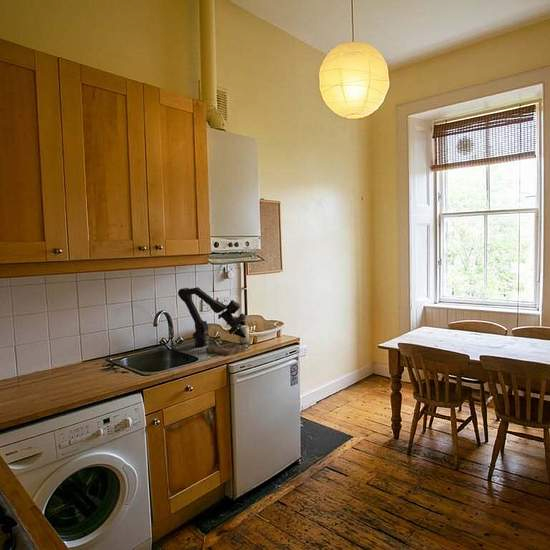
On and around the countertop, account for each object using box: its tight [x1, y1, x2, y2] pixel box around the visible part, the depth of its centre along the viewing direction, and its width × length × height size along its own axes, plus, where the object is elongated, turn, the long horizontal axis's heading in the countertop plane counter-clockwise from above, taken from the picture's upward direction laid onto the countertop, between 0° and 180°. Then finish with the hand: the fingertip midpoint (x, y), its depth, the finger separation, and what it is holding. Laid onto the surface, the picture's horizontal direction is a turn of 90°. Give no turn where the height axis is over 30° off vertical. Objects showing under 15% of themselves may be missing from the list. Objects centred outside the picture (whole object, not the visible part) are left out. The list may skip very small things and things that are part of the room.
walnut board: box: [214, 342, 246, 356], centre depth 239 cm, size 13×13×3 cm
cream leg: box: [240, 325, 250, 349], centre depth 248 cm, size 5×5×13 cm
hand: (247, 336), depth 248 cm, fingers closed on cream leg, 5 cm apart
